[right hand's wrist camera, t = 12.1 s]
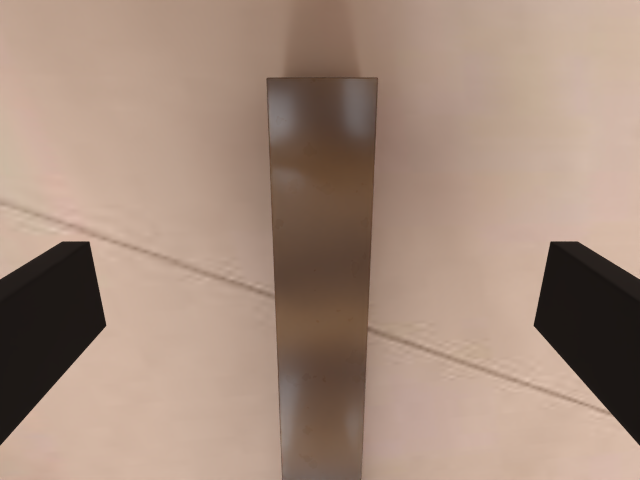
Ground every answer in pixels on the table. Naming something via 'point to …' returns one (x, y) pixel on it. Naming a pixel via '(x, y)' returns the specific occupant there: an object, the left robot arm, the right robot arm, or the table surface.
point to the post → (321, 267)
